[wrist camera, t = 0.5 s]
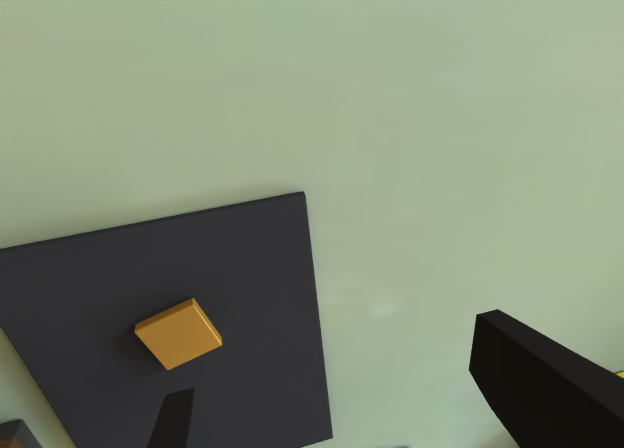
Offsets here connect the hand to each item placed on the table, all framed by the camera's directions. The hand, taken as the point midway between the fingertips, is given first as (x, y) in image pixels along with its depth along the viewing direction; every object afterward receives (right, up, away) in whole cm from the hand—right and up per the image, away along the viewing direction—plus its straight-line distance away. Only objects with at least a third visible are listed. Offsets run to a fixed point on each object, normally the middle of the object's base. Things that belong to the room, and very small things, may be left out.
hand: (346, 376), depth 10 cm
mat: (-7, -4, +12) cm, 14 cm away
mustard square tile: (-7, -1, +10) cm, 12 cm away
